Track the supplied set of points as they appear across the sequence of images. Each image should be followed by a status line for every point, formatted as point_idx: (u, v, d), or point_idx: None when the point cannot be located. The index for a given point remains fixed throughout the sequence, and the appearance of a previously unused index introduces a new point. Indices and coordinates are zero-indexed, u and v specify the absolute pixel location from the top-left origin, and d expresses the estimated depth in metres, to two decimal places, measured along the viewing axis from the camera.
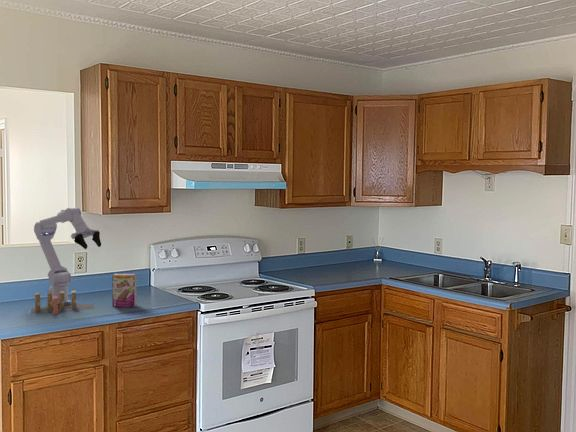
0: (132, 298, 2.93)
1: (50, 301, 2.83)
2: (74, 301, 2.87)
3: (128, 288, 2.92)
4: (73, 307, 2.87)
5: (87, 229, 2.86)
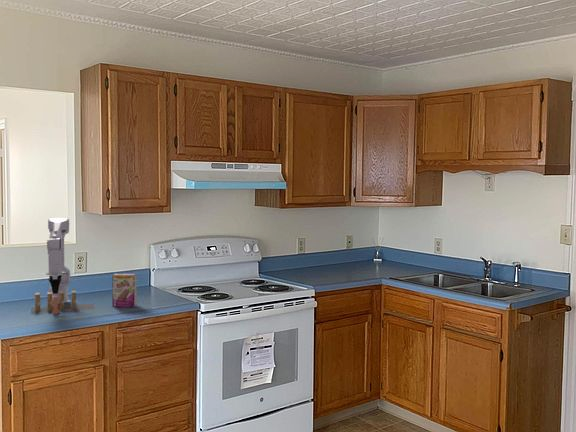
0: (132, 298, 2.93)
1: (50, 301, 2.83)
2: (74, 301, 2.87)
3: (128, 288, 2.92)
4: (73, 307, 2.87)
5: None
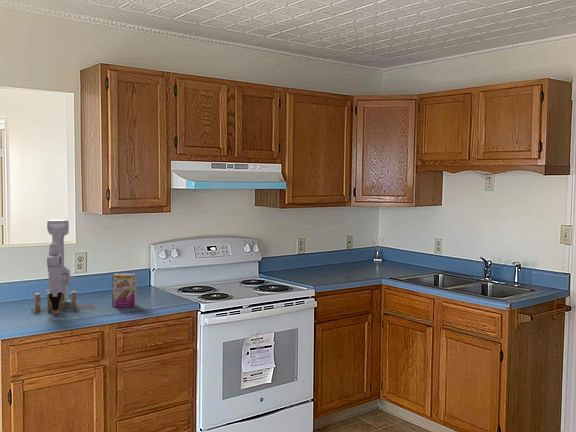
0: (132, 298, 2.93)
1: (50, 301, 2.83)
2: (74, 301, 2.87)
3: (128, 288, 2.92)
4: (73, 307, 2.87)
5: None
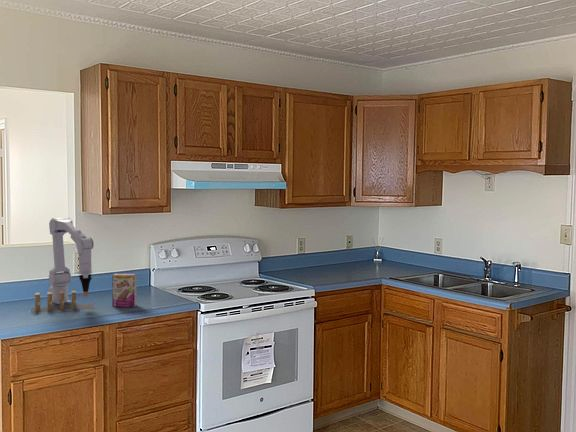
0: (132, 298, 2.93)
1: (50, 301, 2.83)
2: (74, 301, 2.87)
3: (128, 288, 2.92)
4: (73, 307, 2.87)
5: None
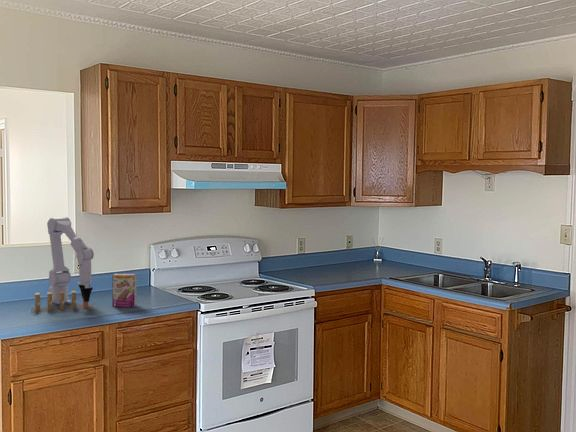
0: (132, 298, 2.93)
1: (50, 301, 2.83)
2: (74, 301, 2.87)
3: (128, 288, 2.92)
4: (73, 307, 2.87)
5: None
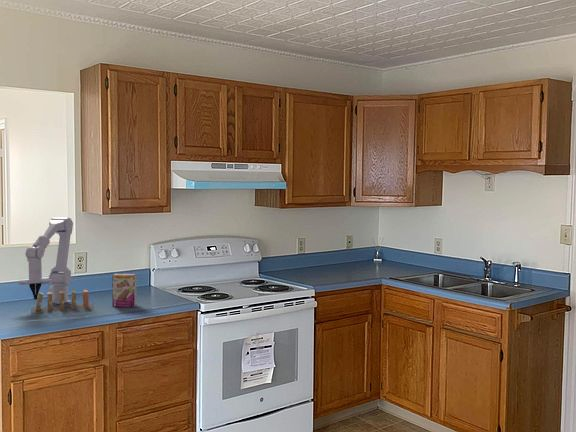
0: (132, 298, 2.93)
1: (50, 301, 2.83)
2: (74, 301, 2.87)
3: (128, 288, 2.92)
4: (73, 307, 2.87)
5: (34, 282, 2.79)
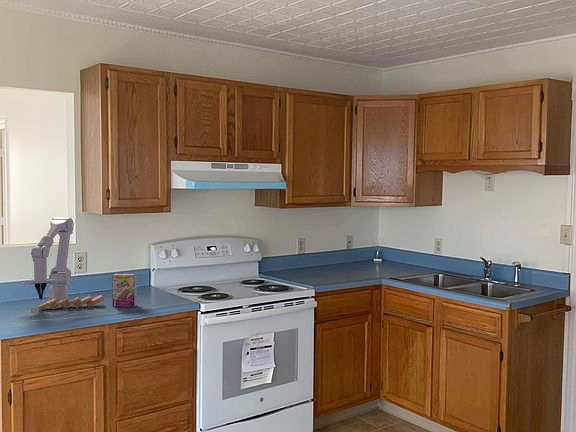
0: (132, 298, 2.93)
1: (60, 305, 2.85)
2: (82, 303, 2.88)
3: (128, 288, 2.92)
4: (76, 305, 2.87)
5: (40, 282, 2.80)
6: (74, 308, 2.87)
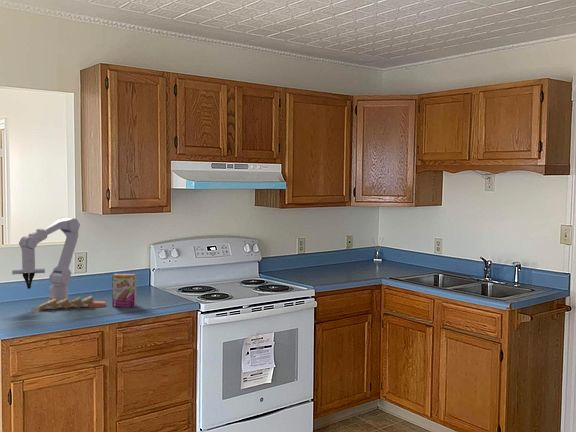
0: (132, 298, 2.93)
1: (61, 305, 2.85)
2: (84, 303, 2.88)
3: (128, 288, 2.92)
4: (77, 305, 2.87)
5: (28, 272, 2.82)
6: (74, 308, 2.87)
